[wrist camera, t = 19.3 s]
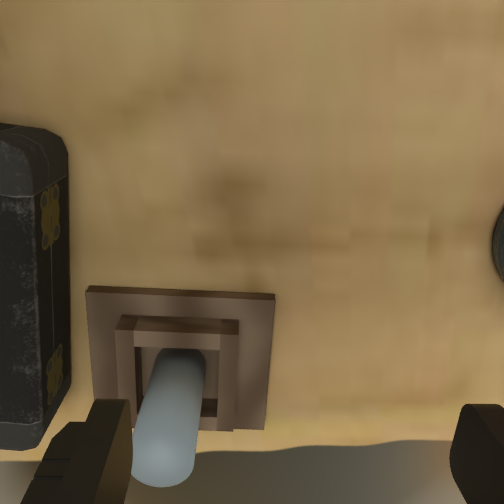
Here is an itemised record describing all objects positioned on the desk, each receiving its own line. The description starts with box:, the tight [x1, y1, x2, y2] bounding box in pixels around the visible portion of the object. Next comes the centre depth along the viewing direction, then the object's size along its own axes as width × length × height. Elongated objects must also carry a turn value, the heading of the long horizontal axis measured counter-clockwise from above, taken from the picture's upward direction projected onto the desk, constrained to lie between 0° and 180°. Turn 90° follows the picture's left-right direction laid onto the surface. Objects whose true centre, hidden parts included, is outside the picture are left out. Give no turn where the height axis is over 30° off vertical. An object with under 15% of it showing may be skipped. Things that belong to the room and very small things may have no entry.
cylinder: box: [131, 348, 206, 487], centre depth 36 cm, size 5×5×11 cm
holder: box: [85, 286, 275, 431], centre depth 41 cm, size 16×14×4 cm
